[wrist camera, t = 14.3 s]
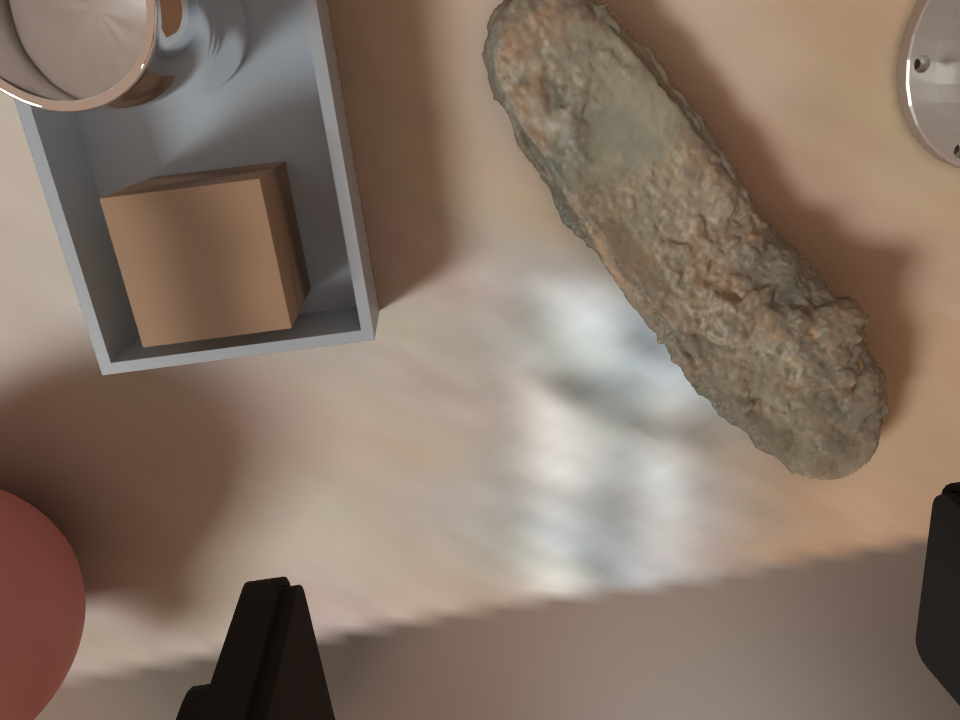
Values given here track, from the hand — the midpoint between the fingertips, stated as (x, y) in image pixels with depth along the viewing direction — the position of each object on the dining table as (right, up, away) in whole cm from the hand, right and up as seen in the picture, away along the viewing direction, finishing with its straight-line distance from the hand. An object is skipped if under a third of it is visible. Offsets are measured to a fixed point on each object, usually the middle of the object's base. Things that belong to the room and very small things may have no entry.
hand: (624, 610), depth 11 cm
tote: (-16, +16, +28) cm, 36 cm away
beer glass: (-17, +20, +26) cm, 37 cm away
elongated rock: (+10, +10, +33) cm, 36 cm away
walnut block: (-15, +10, +30) cm, 35 cm away
